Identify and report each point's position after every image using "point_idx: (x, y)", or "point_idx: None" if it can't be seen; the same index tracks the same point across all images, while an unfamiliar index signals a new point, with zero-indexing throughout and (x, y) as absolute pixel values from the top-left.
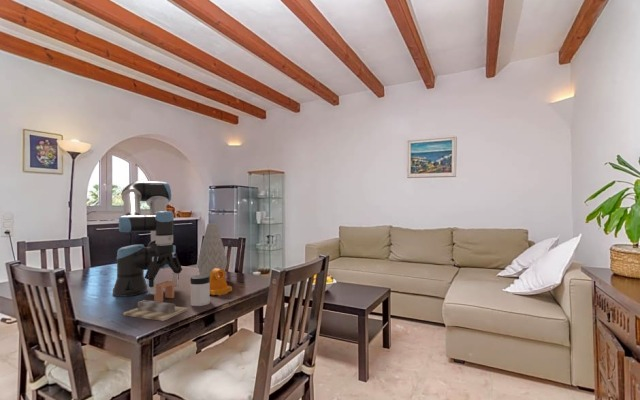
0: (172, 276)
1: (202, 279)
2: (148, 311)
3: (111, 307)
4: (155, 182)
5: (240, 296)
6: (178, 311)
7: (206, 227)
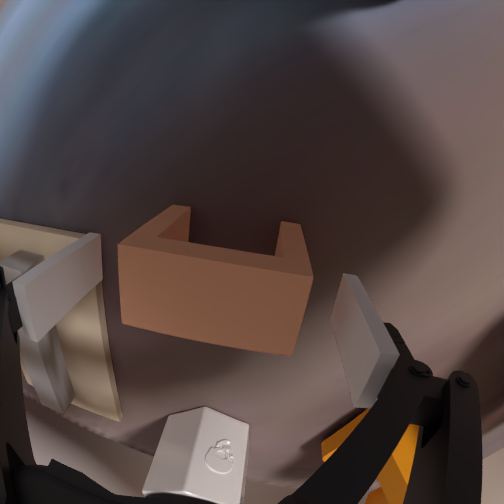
0: (368, 329)
1: None
2: None
3: (41, 57)
4: None
5: None
6: (80, 406)
7: None
